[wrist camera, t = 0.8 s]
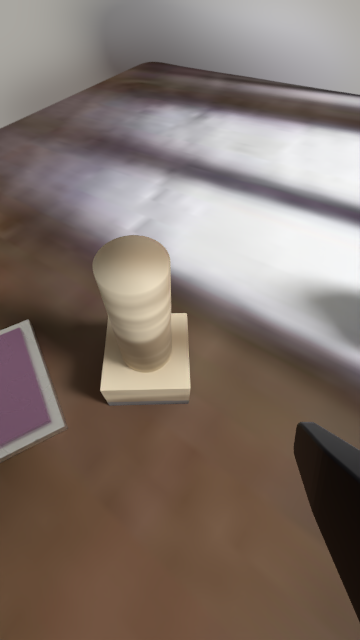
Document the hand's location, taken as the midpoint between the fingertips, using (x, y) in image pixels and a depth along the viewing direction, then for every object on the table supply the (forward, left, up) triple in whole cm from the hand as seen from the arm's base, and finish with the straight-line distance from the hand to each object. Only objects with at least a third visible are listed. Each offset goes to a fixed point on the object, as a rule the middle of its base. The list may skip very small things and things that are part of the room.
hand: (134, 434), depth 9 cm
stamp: (+7, +4, -14) cm, 17 cm away
